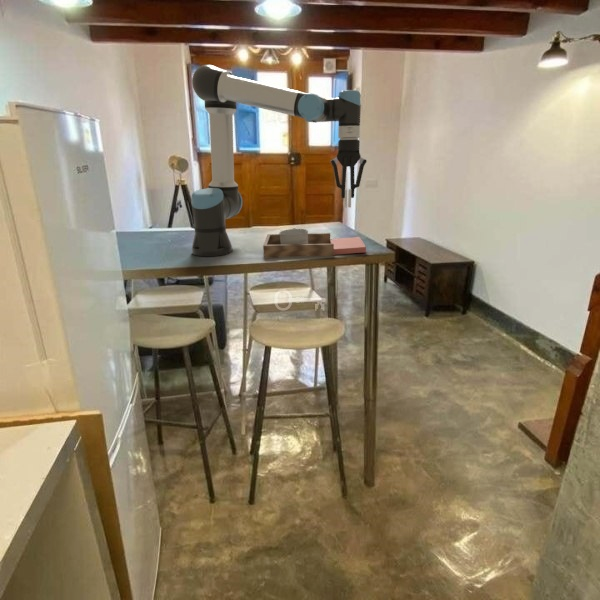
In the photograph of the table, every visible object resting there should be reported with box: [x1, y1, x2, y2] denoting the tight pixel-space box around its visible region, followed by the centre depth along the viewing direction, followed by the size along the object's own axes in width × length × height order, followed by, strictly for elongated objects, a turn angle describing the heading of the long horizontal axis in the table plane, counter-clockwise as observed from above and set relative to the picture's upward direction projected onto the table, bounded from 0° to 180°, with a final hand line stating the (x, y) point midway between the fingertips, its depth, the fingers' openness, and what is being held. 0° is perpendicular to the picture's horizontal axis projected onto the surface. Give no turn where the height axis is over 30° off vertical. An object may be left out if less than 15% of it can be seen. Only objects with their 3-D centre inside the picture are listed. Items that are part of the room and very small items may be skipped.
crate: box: [262, 232, 334, 259], centre depth 161 cm, size 25×20×4 cm
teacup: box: [278, 228, 309, 245], centre depth 161 cm, size 14×11×8 cm
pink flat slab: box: [330, 236, 367, 255], centre depth 161 cm, size 2×17×12 cm
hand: (347, 206), depth 156 cm, fingers closed
